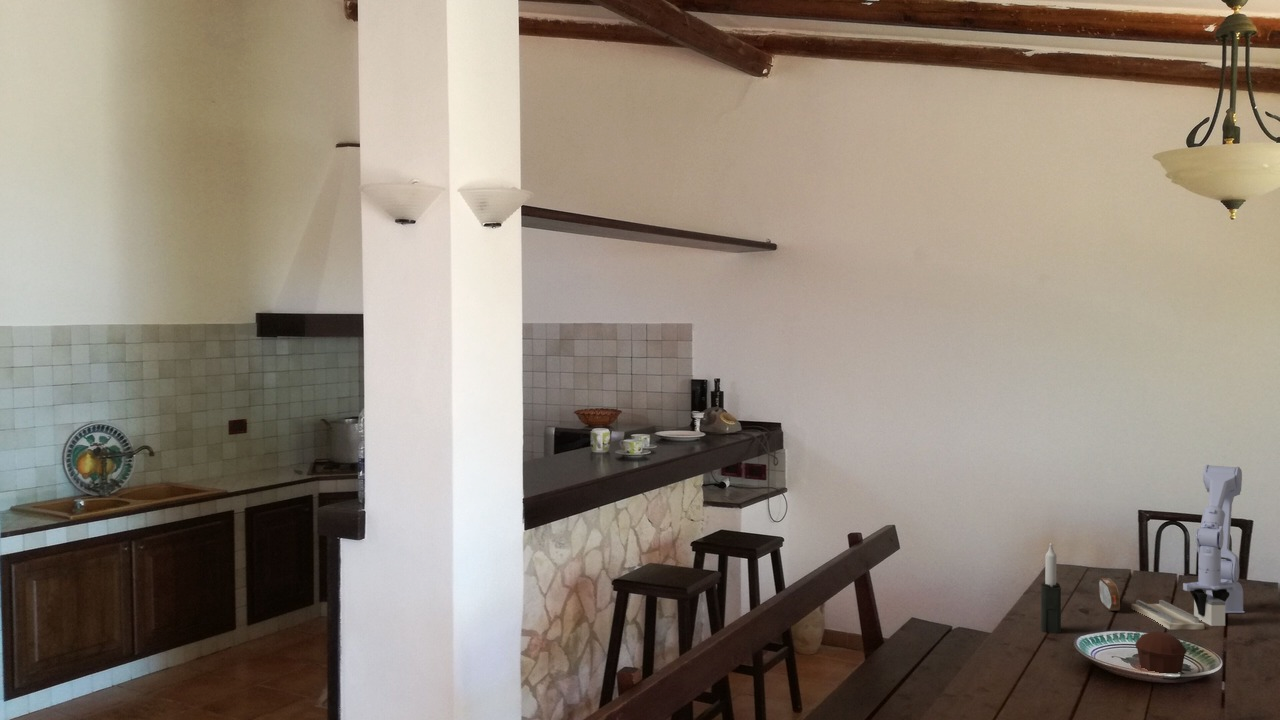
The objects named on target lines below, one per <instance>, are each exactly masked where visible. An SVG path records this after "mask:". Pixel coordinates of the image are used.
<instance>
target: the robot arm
mask: <svg viewBox="0 0 1280 720" xmlns="http://www.w3.org/2000/svg"><path fill="white" fill-rule="evenodd" d="M1202 481H1203V483H1204V487H1205V489H1206V492H1207V493H1208V495H1209V496H1208V506H1206V507H1205V508H1204V509H1203V510H1202V511H1203V512H1202V515H1201V522H1200V527H1199V528H1197V530H1196V535H1195V542H1196V550H1197V553H1198V558H1197V559H1198V564H1197V565H1198V572H1197V573H1198V575H1197V576H1198V579H1197V581H1194V582H1192V581H1191V582H1183V583H1182V590H1183V591H1185V592H1189V593H1190V594H1191V595H1192V598H1193V601H1194V600H1195V603H1196V606H1197V609H1198V614H1199V615H1201V616H1205V603H1206V598H1207V594H1209V595H1211V596H1214V597H1216V598H1218V599H1220V600H1223V601H1225V614H1244V613H1246V611H1244V589H1243V586H1242V584H1241V583H1240V582H1239V578H1240V559H1239V557H1238V555H1236V554H1235V552H1233V551H1231V550H1230V540H1231V539H1230V538H1231V526H1232V525H1231V524H1232V510H1233V509H1232V508H1233V507H1232V506H1233V502H1234V498H1235V497H1236V496H1239V495H1241V492H1242V484H1243V483H1242V481H1243V471H1242V468H1240V466H1224V465H1209V464H1206V465H1205V466H1203V470H1202Z"/></svg>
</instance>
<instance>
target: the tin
mask: <svg viewBox="0 0 1280 720" xmlns="http://www.w3.org/2000/svg"><path fill="white" fill-rule="evenodd" d="M1098 586H1099V587H1098V588H1099V598H1100V602H1101V603H1102V605H1103V606H1104V607H1105V608H1106V609H1107V610H1108V611H1110V612H1120V609H1121V597H1120V591H1119V589H1118V586H1117V584H1116V583H1115V582H1114V581H1113V580H1112V579H1111V578H1110V577H1103V578H1102V577H1101V578H1100V579H1099V580H1098Z"/></svg>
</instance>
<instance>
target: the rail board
mask: <svg viewBox="0 0 1280 720" xmlns="http://www.w3.org/2000/svg"><path fill="white" fill-rule="evenodd" d="M1131 610H1133V611H1134V610H1135V611H1134V612H1136V611H1137V612H1136V613H1138V612H1139V614H1140V613H1141V614H1140V615H1142V614H1143V615H1142V616H1144V615H1145V616H1147V617H1149V618H1151V619H1153V620H1155V621H1156V622H1158V623H1159V624H1158V623H1157V624H1158V625H1160V624H1161V625H1160V626H1162V625H1163V626H1162V627H1164V628H1165V629H1167V630H1172V631H1173V630H1175V631H1176V630H1179V631H1180V630H1182V631H1183V630H1184V631H1185V630H1205V623H1204V622H1202V621H1200V620H1199V618H1198V617H1196V616H1194V614H1192V613H1189V611H1186V610H1184V609H1182V608H1179V607H1178V606H1176V605H1173V604H1172V603H1170V602H1167V601H1165V600H1164V599H1158V603H1147V602H1144V601H1142V599H1141V600H1140V599H1136V601H1135V603H1131ZM1145 616H1144V617H1145ZM1147 617H1146V618H1147ZM1149 618H1148V619H1149ZM1151 619H1150V620H1151ZM1153 620H1152V621H1153ZM1155 621H1154V622H1155ZM1156 622H1155V623H1156Z"/></svg>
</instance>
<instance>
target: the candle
mask: <svg viewBox="0 0 1280 720" xmlns="http://www.w3.org/2000/svg"><path fill="white" fill-rule="evenodd" d="M1044 558H1045V559H1044V561H1045V566H1044V569H1045V572H1044V573H1045V575H1044V577H1045V579H1044V580H1045V581H1042V583H1041V584H1040V629H1041V632H1043V633H1051V634H1061V632H1062V627H1061V626H1062V623H1061V621H1062V618H1061V617H1062V611H1061V610H1062V609H1061V607H1062V590H1061V589H1062V587H1061V585H1060V583H1058V582H1057V554H1056V552H1055V551H1054V548H1053V543H1051V542H1050V543H1049V547H1048V551H1047V552H1046V553H1045V557H1044Z"/></svg>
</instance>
